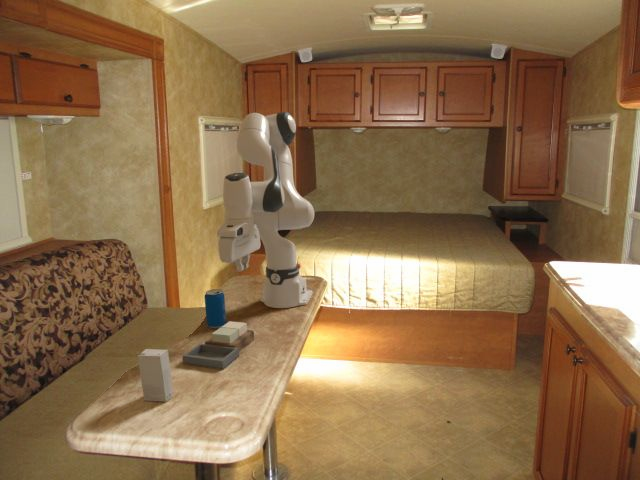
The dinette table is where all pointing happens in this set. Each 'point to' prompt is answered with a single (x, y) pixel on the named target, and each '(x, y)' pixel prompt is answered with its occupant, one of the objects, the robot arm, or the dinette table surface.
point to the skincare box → (155, 375)
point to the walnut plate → (236, 341)
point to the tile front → (225, 335)
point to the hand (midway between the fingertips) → (242, 269)
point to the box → (211, 356)
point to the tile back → (236, 327)
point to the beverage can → (215, 308)
